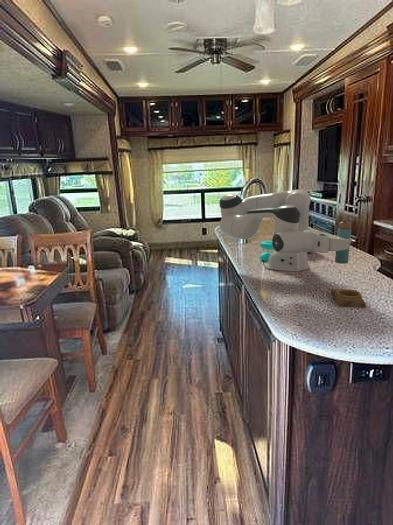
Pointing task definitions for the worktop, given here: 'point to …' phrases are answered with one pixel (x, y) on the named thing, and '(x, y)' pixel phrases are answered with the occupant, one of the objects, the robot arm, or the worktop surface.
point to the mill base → (348, 298)
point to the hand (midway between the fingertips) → (345, 239)
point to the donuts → (267, 246)
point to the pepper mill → (344, 232)
